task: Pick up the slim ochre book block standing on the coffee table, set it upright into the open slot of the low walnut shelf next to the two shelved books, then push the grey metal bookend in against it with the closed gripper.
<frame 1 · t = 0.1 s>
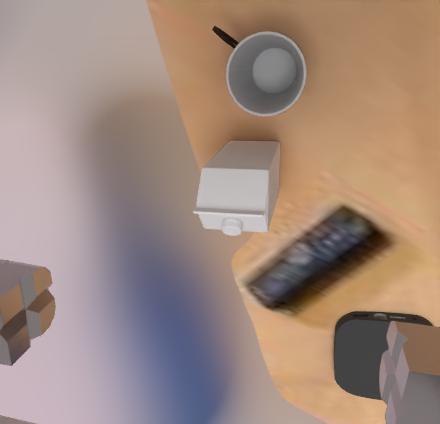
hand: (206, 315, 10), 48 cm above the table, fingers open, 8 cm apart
coffee mug: (269, 60, 52), on the table
media streaming box: (382, 349, 64), on the table
milk carton: (254, 165, 58), on the table
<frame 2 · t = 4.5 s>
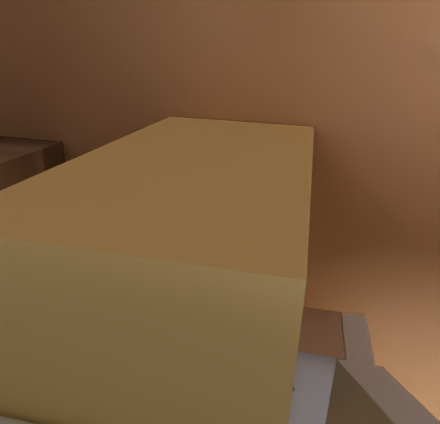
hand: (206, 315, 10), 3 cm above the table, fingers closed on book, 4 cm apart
book: (233, 251, 13), on the table, touching gripper
when the fingers open (6 cm above the table, at t = 9.7 s): book drops 2 cm, resting on shelf.
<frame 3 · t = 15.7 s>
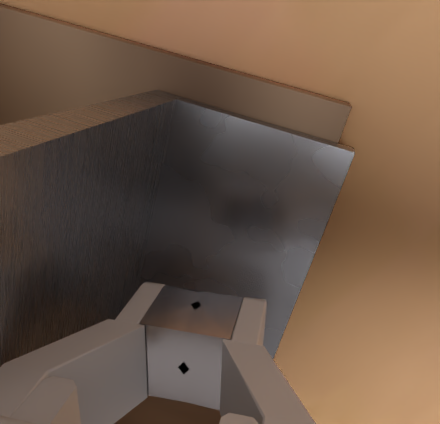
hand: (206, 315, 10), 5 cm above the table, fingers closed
bookend: (179, 310, 9), point 5 cm above the table, slide at 1.0 cm, touching gripper
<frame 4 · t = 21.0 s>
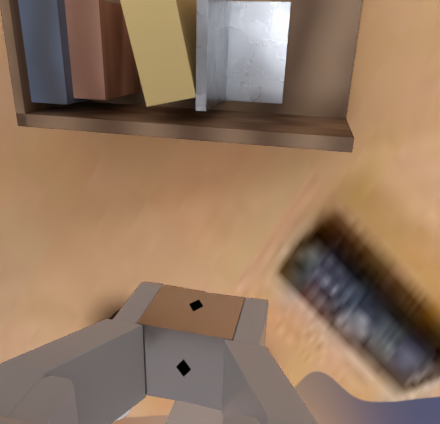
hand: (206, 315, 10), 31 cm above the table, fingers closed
shelf: (206, 57, 38), on the table
book: (189, 46, 37), point 1 cm above the table, touching bookend, shelf
milk carton: (232, 357, 50), on the table
bookend: (245, 53, 32), point 5 cm above the table, slide at 7.0 cm, touching book
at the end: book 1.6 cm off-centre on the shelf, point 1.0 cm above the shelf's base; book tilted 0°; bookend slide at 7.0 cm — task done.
